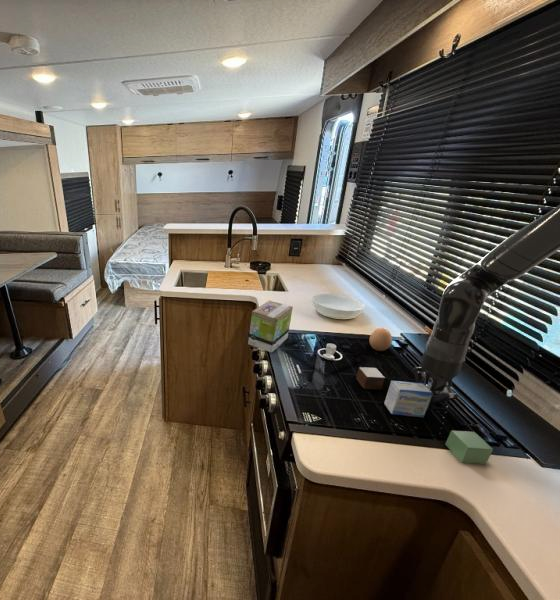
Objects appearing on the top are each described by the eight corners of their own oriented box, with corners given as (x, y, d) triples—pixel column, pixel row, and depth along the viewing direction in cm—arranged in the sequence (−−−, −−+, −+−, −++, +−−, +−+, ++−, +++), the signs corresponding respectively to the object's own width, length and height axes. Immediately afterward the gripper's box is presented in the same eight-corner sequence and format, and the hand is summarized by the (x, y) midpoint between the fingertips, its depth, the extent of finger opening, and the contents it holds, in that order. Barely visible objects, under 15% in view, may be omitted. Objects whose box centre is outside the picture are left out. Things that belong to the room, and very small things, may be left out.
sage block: (466, 447, 73) (474, 431, 72) (484, 465, 69) (493, 449, 67) (444, 446, 74) (451, 430, 72) (460, 464, 69) (468, 447, 67)
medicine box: (390, 415, 83) (399, 389, 80) (383, 404, 88) (391, 379, 84) (423, 419, 82) (433, 393, 79) (414, 407, 86) (423, 382, 83)
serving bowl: (361, 328, 130) (365, 314, 127) (307, 318, 140) (310, 305, 137) (360, 310, 146) (364, 297, 143) (312, 303, 156) (314, 290, 153)
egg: (391, 350, 113) (397, 328, 110) (384, 357, 110) (391, 334, 106) (371, 343, 118) (377, 322, 115) (364, 349, 115) (369, 327, 111)
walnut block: (372, 381, 97) (375, 367, 96) (380, 391, 93) (385, 377, 91) (355, 380, 98) (358, 367, 96) (363, 390, 93) (367, 376, 91)
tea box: (272, 354, 113) (277, 318, 107) (247, 345, 119) (250, 310, 114) (288, 339, 123) (293, 305, 117) (264, 331, 129) (268, 299, 124)
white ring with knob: (330, 364, 106) (332, 354, 105) (311, 353, 113) (313, 343, 111) (347, 357, 110) (349, 348, 108) (327, 347, 116) (329, 338, 115)
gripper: (483, 369, 71) (458, 427, 77) (441, 341, 83) (423, 393, 89) (447, 368, 72) (425, 425, 78) (411, 340, 84) (395, 391, 90)
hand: (424, 408), depth 84 cm, fingers closed
